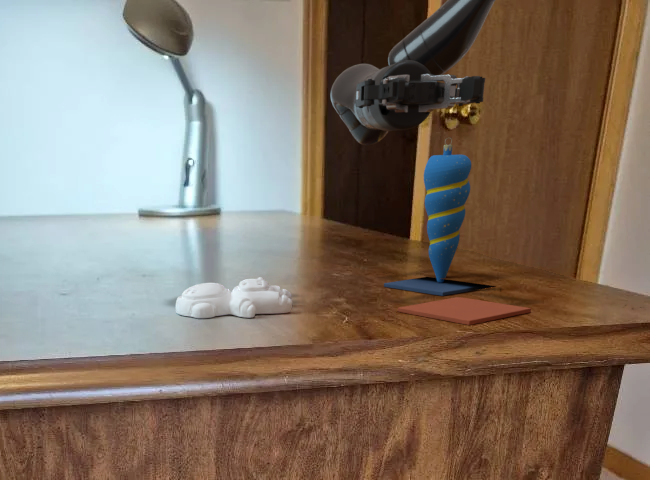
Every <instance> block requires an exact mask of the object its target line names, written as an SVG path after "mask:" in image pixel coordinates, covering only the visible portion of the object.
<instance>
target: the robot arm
mask: <svg viewBox="0 0 650 480" xmlns="http://www.w3.org/2000/svg"><path fill="white" fill-rule="evenodd" d="M495 2H496V0H446V1H445V2H444V3H443V4H442V5H441V6H439V8H438V9H436V10H435V11H434V12H433V13H432V14H431V15H430V16H429V17H427V18H426V19H425V20H424V21H422V22H421V23H420V24H419V25H418V26H417V27H415V28H414V29H413V30H412V31H411V32H409V33H408V34H407V35H406V36H405V37H404V38H402V39H401V40H400V41H399V42H398V43H396V44H395V45H394V46H393V47H392V49H391V50H390V51H389V53H388V57H387V62H388V65H387V66H384V67H381V68H379V67H376V66H374V65H373V64H370V63H358V64H355V65H352V66H349V67H347V68H346V69H345V70H343V71H342V72H341V73H340V74H339V75H338V76H337V77H336V79H335V80H334V82H333V84H332V85H331V89H330V101H331V104H332V107H333V108H334V110H335V111H336V113H337V114H338V115H339V117H340V119H341V120H342V122H343V123H344V124H345V126H346V127H347V129H348V130H349V132H350V134H351V135H352V137H353V138H354V139H355V141H356V142H357V143H359V144H360V145H363V146H371V145H375V144H377V143H379V142H381V140H383V139H384V138H385V137H386V136H387V134H388V133H389V132H396V131H406V130H411V129H414V128H416V127H418V126H420V125H421V124H422V123H424V122H425V121H426V119H428V117H429V115H430V114H431V112H434V110H443V109H453V108H454V107H455V106H458V107H463V106H464V105H471V104H477V105H479V104H481V103H483V102H484V91H485V83H486V77H483V76H480V75H471V76H469V75H468V76H464V77H460V78H458V77H457V75H455V74H446V73H447V72H448V71H451V69H452V68H454V67H455V66H456V65H458V63H459V62H461V60H462V59H463V58H464V57H465V56H466V55H467V53H468V52H469V51H470V50H471V48H472V47H473V45H474V44H475V42H476V40H477V38H478V36H479V34H480V32H481V31H482V29H483V26H484V24H485V22H486V21H487V17H488V16H489V14H490V11H491V10H492V7H493V6H494V4H495Z"/></svg>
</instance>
